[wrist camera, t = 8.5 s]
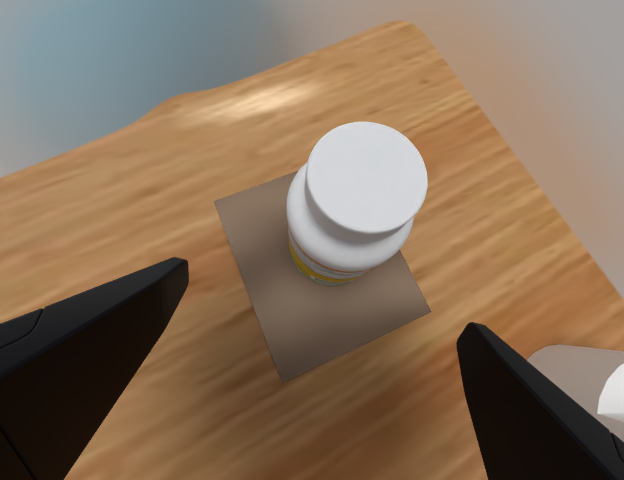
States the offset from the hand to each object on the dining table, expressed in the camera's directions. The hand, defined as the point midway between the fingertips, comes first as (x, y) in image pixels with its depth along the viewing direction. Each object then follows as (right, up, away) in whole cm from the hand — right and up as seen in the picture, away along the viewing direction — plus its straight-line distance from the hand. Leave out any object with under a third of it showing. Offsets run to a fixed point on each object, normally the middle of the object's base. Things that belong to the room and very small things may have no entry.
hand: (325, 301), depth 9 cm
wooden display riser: (0, 0, +14) cm, 14 cm away
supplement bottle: (+1, +2, +10) cm, 10 cm away
